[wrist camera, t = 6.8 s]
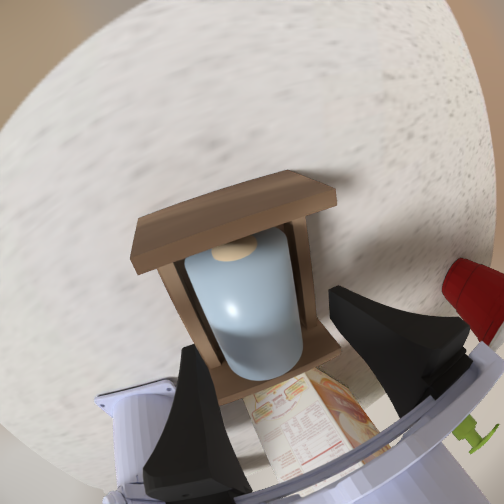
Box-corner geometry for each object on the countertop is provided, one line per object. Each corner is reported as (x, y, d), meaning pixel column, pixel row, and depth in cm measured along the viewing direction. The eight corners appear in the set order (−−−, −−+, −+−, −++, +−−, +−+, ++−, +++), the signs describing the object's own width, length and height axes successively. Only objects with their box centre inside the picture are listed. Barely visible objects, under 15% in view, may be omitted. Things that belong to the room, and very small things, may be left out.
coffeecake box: (349, 387, 31) (428, 494, 14) (307, 418, 31) (373, 526, 15) (295, 349, 23) (414, 529, 6) (237, 393, 23) (320, 570, 7)
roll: (300, 318, 18) (305, 377, 14) (231, 326, 19) (222, 383, 15) (284, 215, 15) (289, 268, 10) (196, 230, 15) (170, 284, 11)
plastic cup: (426, 280, 26) (501, 339, 16) (472, 224, 26) (541, 266, 16) (429, 324, 32) (483, 373, 21) (470, 276, 31) (523, 315, 21)
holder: (308, 313, 21) (341, 354, 17) (202, 354, 20) (217, 406, 15) (287, 169, 16) (335, 188, 11) (138, 218, 14) (129, 258, 10)
